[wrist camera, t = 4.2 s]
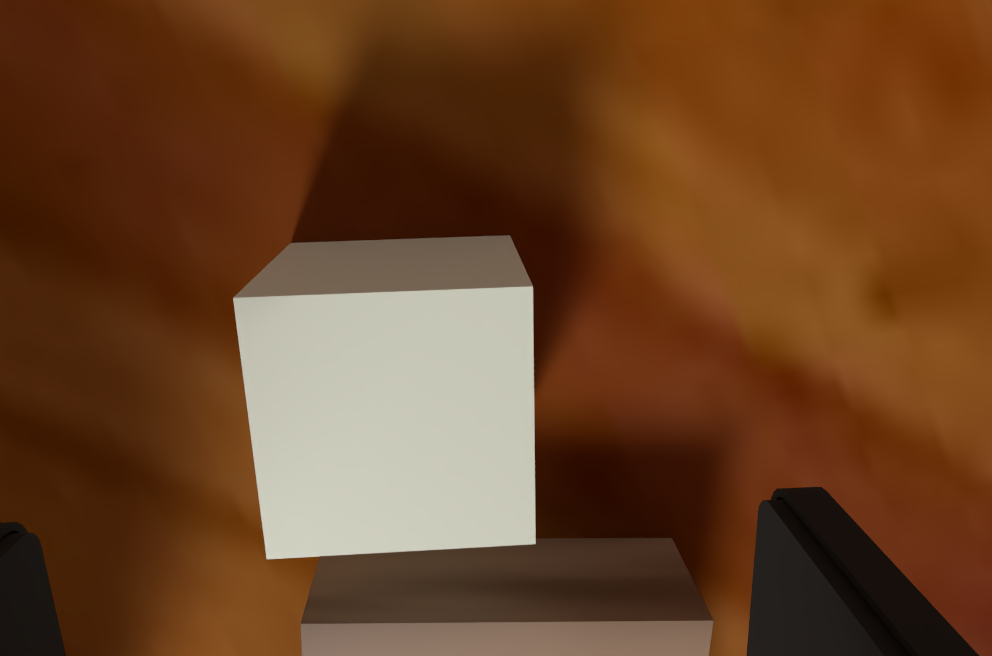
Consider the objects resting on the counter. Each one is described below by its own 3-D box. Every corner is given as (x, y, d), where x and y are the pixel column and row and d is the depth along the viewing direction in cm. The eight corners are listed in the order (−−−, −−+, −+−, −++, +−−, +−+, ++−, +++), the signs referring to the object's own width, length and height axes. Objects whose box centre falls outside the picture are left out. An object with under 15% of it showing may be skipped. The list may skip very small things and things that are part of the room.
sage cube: (291, 242, 19) (232, 298, 14) (509, 234, 19) (533, 286, 14) (312, 442, 21) (266, 559, 16) (513, 432, 21) (535, 544, 16)
